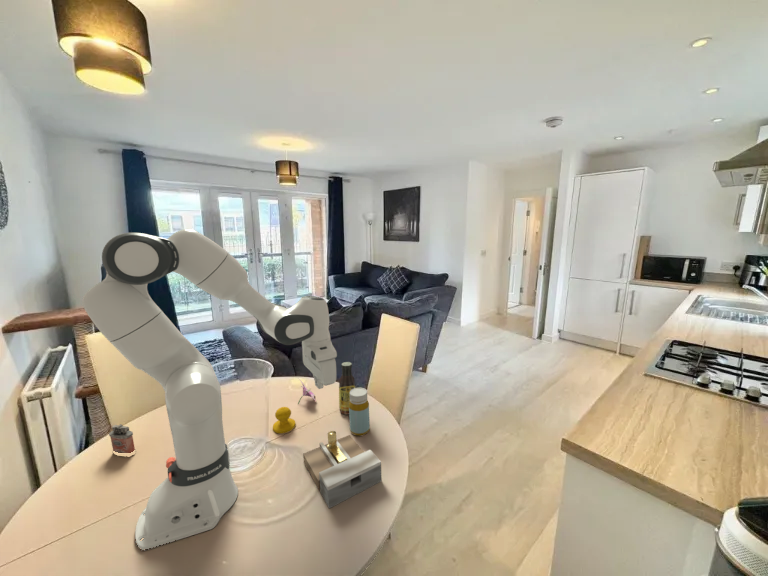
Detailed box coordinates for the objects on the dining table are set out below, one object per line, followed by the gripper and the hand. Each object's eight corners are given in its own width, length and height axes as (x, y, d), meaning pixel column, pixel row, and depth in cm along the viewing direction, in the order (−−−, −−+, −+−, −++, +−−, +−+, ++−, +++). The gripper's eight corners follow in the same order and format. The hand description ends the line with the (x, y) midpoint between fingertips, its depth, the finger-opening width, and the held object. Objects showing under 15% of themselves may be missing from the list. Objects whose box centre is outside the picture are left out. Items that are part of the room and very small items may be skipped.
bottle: (367, 437, 108) (365, 397, 105) (347, 435, 109) (345, 396, 107) (371, 425, 115) (370, 387, 112) (353, 423, 116) (351, 386, 113)
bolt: (327, 449, 98) (326, 432, 96) (334, 446, 99) (333, 429, 98) (339, 467, 90) (338, 448, 89) (347, 463, 91) (346, 445, 90)
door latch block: (303, 462, 97) (302, 444, 96) (350, 442, 106) (349, 425, 104) (329, 508, 80) (327, 487, 79) (381, 481, 89) (380, 461, 88)
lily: (311, 414, 125) (321, 391, 126) (284, 403, 125) (294, 380, 126) (316, 407, 137) (325, 386, 138) (291, 396, 137) (300, 376, 138)
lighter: (109, 455, 103) (104, 427, 101) (120, 448, 106) (115, 421, 104) (128, 458, 101) (123, 430, 99) (139, 451, 104) (134, 424, 102)
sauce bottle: (340, 416, 121) (337, 368, 117) (338, 408, 127) (336, 361, 123) (357, 413, 123) (355, 366, 119) (354, 405, 129) (352, 359, 125)
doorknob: (278, 436, 110) (269, 426, 116) (299, 427, 115) (289, 418, 121) (276, 417, 109) (267, 408, 114) (297, 408, 114) (288, 400, 120)
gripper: (296, 339, 106) (299, 377, 108) (318, 358, 89) (321, 403, 91) (314, 335, 109) (316, 372, 111) (339, 353, 92) (341, 397, 94)
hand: (319, 386), depth 101 cm, fingers closed
